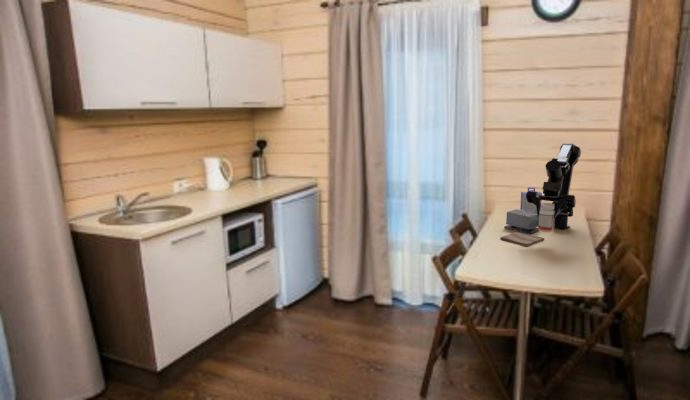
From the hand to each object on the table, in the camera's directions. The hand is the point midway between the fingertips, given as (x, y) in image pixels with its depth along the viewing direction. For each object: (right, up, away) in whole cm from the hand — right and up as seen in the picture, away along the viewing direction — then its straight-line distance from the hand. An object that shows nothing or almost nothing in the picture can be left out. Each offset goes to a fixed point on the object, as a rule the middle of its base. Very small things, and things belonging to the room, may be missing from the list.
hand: (546, 216), depth 189 cm
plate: (-5, -11, +12) cm, 17 cm away
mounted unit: (+1, -7, +28) cm, 29 cm away
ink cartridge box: (+14, -2, +52) cm, 54 cm away
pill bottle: (+1, -6, +3) cm, 7 cm away
